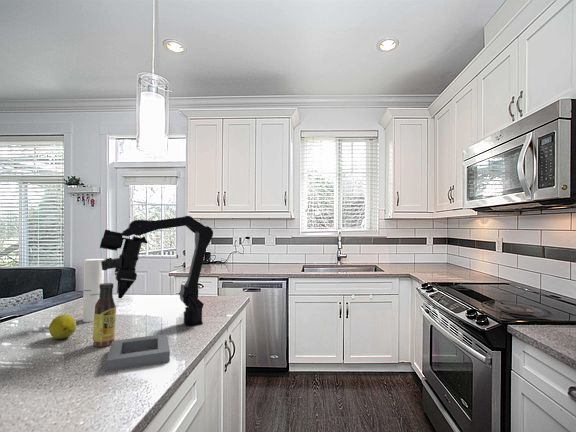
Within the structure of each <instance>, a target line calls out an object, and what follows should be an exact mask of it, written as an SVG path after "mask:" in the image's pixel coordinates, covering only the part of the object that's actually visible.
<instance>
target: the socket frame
mask: <svg viewBox="0 0 576 432" xmlns="http://www.w3.org/2000/svg"><path fill="white" fill-rule="evenodd" d="M142 349H143V350H144V351H143V350H142ZM150 349H151V350H150ZM135 350H136V352H134V351H135ZM128 351H129V353H127V352H128ZM170 351H171V349H170V344H169V337H168V334H167V333H164V334H163V333H162V334H157V335H148V336H142V337H141V336H140V337H139V336H138V337H133V338H125V339H117V340H115V339H114V341H112V344H111V345H110V347H109V351H108V354H107V357H106V360H105V372H106V373H107V372H113V371H114V372H115V371H121V370H126V369H128V370H129V369H132V368H133V369H134V368H139V367H145V366H146V367H147V366H152V365H157V364H158V365H159V364H164V363H170V361H171V360H170V359H171V357H170V356H171V355H170V354H171V352H170Z"/></svg>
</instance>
